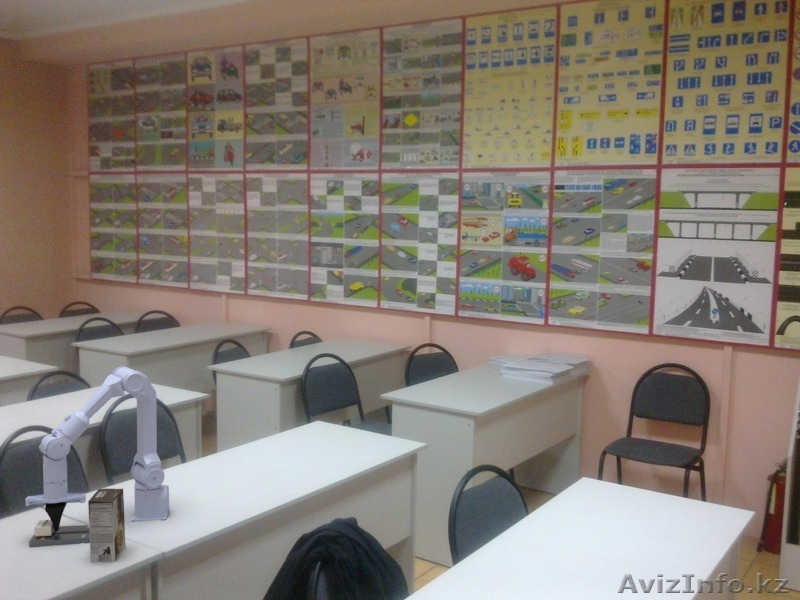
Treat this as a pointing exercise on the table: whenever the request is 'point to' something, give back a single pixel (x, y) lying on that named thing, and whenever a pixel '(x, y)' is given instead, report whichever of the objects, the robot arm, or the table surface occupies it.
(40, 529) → the fader knob
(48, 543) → the fader panel
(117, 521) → the coffee box
